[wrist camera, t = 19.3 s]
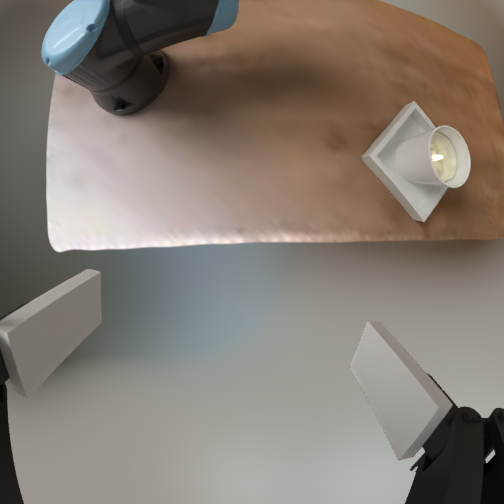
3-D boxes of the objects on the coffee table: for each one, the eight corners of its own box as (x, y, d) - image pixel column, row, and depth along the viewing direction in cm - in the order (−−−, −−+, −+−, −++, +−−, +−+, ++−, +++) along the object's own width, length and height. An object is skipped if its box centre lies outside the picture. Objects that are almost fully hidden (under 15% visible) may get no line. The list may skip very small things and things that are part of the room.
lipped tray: (359, 158, 43) (369, 155, 40) (403, 106, 41) (414, 101, 37) (412, 219, 46) (424, 222, 42) (450, 165, 43) (462, 164, 39)
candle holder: (437, 175, 43) (477, 175, 31) (403, 194, 44) (443, 197, 32) (418, 129, 41) (456, 118, 29) (382, 145, 42) (419, 134, 30)
